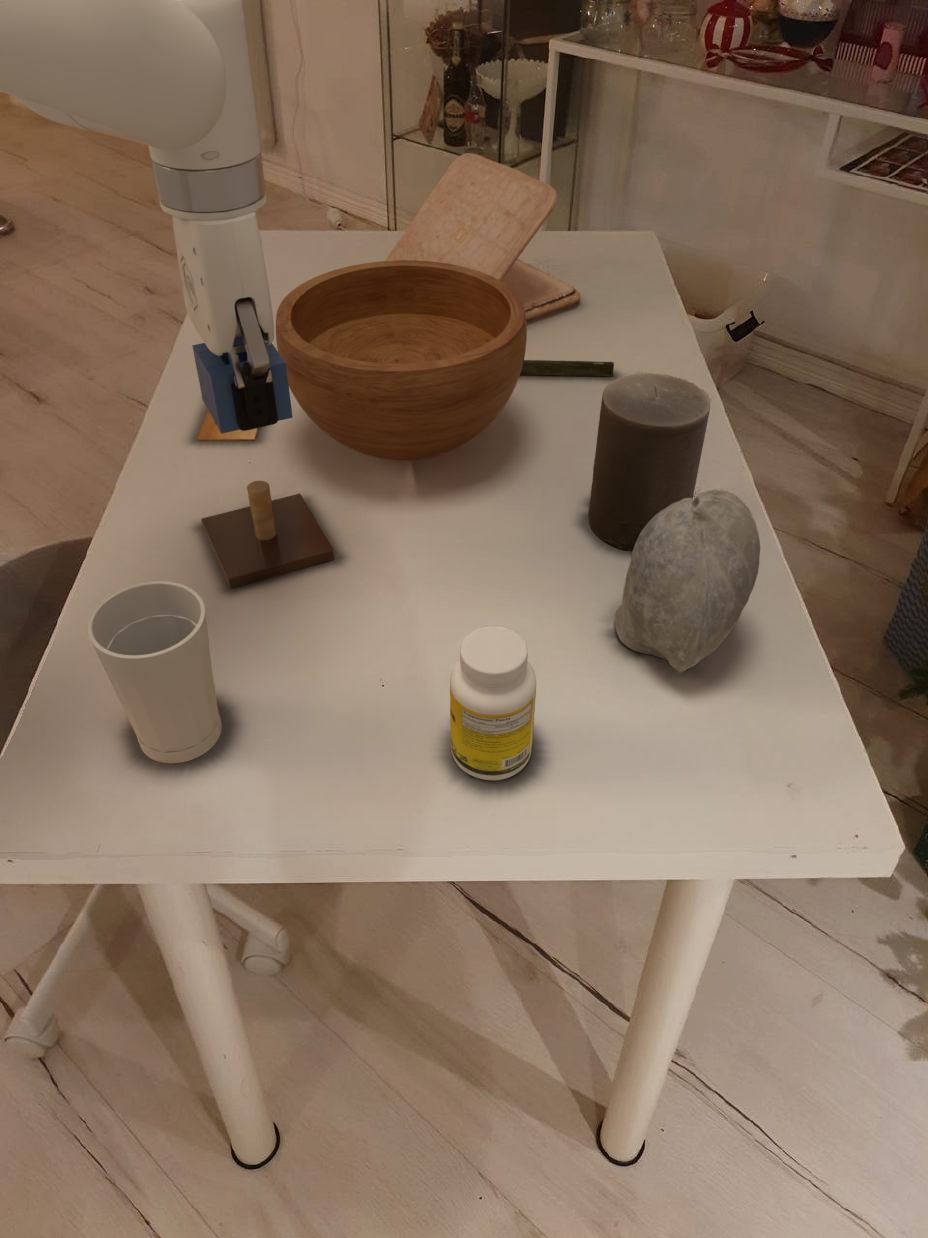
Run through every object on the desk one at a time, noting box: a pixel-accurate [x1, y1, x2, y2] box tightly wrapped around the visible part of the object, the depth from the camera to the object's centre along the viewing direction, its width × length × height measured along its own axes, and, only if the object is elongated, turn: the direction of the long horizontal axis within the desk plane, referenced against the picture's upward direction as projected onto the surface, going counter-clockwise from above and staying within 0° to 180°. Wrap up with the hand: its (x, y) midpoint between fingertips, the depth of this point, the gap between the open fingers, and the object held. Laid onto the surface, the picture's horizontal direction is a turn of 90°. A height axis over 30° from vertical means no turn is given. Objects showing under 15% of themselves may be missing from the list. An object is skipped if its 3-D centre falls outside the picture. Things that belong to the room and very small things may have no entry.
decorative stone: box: [614, 489, 761, 673], centre depth 79 cm, size 15×10×15 cm
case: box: [384, 152, 581, 321], centre depth 128 cm, size 20×21×16 cm
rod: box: [520, 359, 615, 377], centre depth 117 cm, size 31×1×2 cm, turn 88°
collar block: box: [192, 336, 293, 434], centre depth 80 cm, size 6×6×5 cm
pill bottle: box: [449, 625, 537, 781], centre depth 71 cm, size 6×6×11 cm
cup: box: [87, 580, 223, 764], centre depth 72 cm, size 8×8×12 cm
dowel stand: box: [200, 480, 335, 589], centre depth 91 cm, size 10×10×7 cm
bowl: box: [275, 260, 528, 462], centre depth 102 cm, size 25×25×15 cm
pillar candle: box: [587, 371, 712, 552], centre depth 91 cm, size 10×10×15 cm
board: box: [196, 409, 259, 442], centre depth 111 cm, size 6×12×2 cm, turn 0°
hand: (246, 404), depth 81 cm, fingers closed on collar block, 6 cm apart
